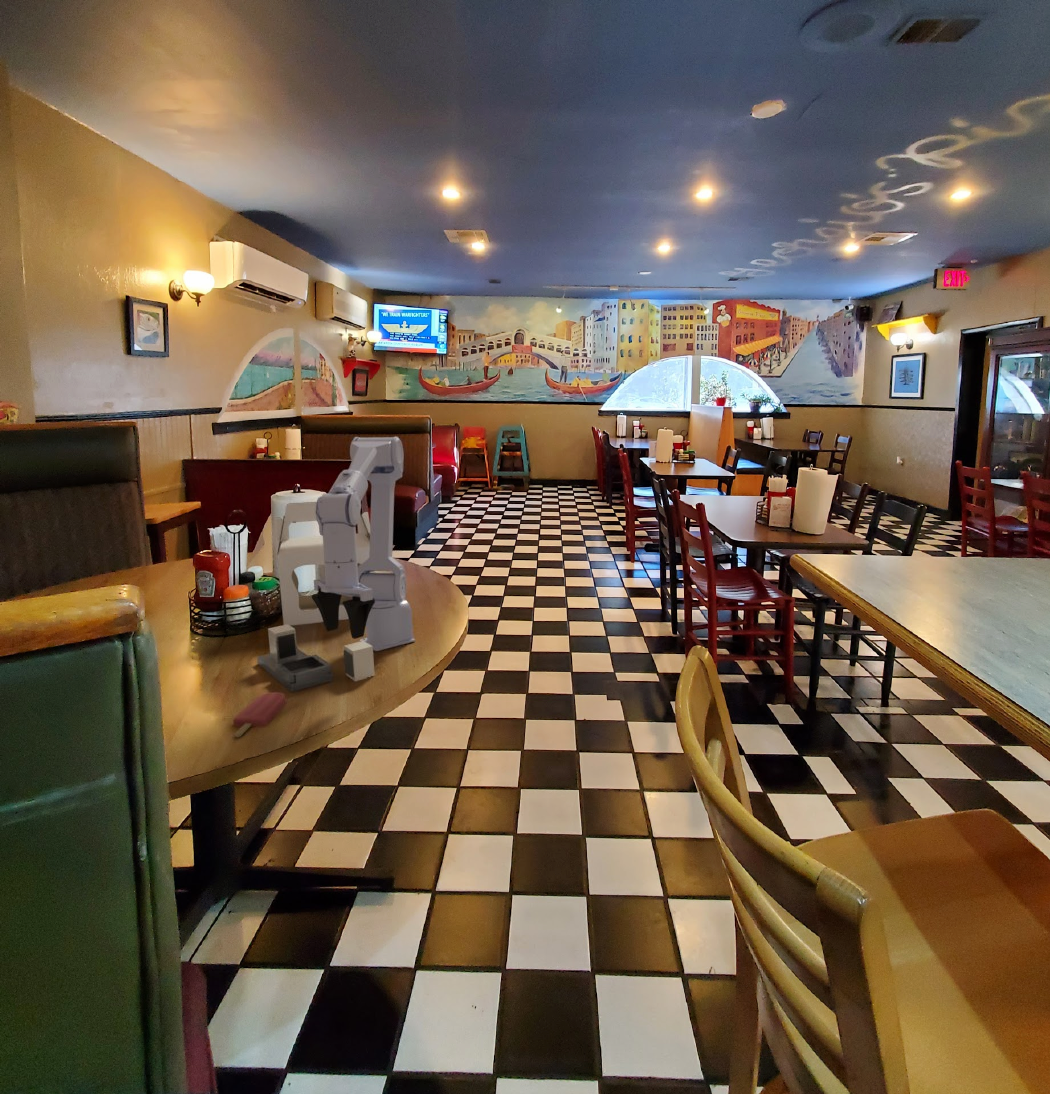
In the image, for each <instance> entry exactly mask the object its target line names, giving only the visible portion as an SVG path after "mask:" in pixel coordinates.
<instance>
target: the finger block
mask: <svg viewBox="0 0 1050 1094" xmlns="http://www.w3.org/2000/svg"><path fill="white" fill-rule="evenodd" d="M374 661H375V660H374V650H373V646H371V645H370V644H368V643H366V642H364V641H360V640H359V641H357V642H353V643H348V644H346V645H343V663H344V673H345V676H347V677H349V678H350V679H351V680H352V681H354V682H359V681H361V680H366V679H368V678H367V677H369V678H372V677H371V676H373V677H375V676H376V675H375V674H376V673H375V663H374Z"/></svg>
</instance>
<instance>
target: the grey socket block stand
mask: <svg viewBox="0 0 1050 1094" xmlns="http://www.w3.org/2000/svg"><path fill="white" fill-rule="evenodd" d="M296 631H297V630H296V628H294V627H293V626H290V625H288V624H287V625H284V624H283V625H279V626H274V627H269V628H267V632H268V633H267V635H268V642H269V643H268V644H269V653H268V654H263V655H259V656H256V657H257V658H256V659H257V665H259V666H260V667H261V668H262V669H263V670H264V671H265V672H267V673H268V674H269V675H271V676H272V678H273V679H275V680H276V681H277V682H279V683H280V685H282V686H283V687H284V688H286V689H287V690H288V691H289V692H290V693H293V692H297V691H300V690H305V689H308V688H311V687H315V686H319V685H323V684H326V683H329V682H333V681H334V674H333V672H332V664H331V663H329V662H328V661H326V660H325V659H324V658H322V657H320V656H319V655H317V654H314V655H313V654H312V655H311V654H310V655H309V654H306V653H305V652H304V651H302V650H300V649H299V648H298V645H297V644H298V643H297V635H296V634H297V633H296Z"/></svg>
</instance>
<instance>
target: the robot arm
mask: <svg viewBox="0 0 1050 1094" xmlns="http://www.w3.org/2000/svg"><path fill="white" fill-rule="evenodd" d="M352 439H353V440H352V441H351V443H350V446H349V455H350V460H351V463H350V465H349V467H348V469H343V470H342V471H341V472H340V473H339V474H338V476H337V478H336V480H335V481H334V482H333V485H332V486H331V488H330V490H329V491H328V493H323V494H321V496H319V497H318V498H317V500H316V501H315V502H316V511H315V515H316V519H317V521H316V522H317V524H318V529H319V530H318V531H319V535H320V536H323V549H324V565H323V566H324V577H323V578H317V579H314V580H313V587H314V588H313V590H314V591H316V593H317V594H316V593H313V594H311V595H312V599H313V601H314V602H315V603H316V605H317V607H318V609H319V611H320V613H321V616H322V619H323V622H322V623H323V624H324V628H325V630H326V631H327V632H332V631H336V630H338V628H339V624H340V623H339V622H340V620H339V605H340V600H341V596H342V595H344V596H349V597H352V600H347V601H343V605H344V607H345V609H346V612H347V615H348V618H349V619H348V621H349V622H348V623H349V630H350V635H351V638H352V639H354V640H356V639H359V638H361V639H359V642H360V641H364V642H366V643H368V644H370V645H371V646H373V651H375V652H379V651H383V650H387V649H391V648H394V647H398V646H403V645H405V644H409V643H413V642H415V640H416V639H415V638H414V632H413V627H414V626H413V612H412V608H411V606H410V603H409V602H408V601H407V600H406V599H405V598H406V594H407V578H406V570H405V567H404V566H403V565H402V564H401V563H400V562H398V560H396V559H395V558H394V557H393V546H394V543H393V541H394V512H395V510H394V508H395V507H394V506H395V487H396V481H398V480H400V479H401V478H403V472H404V456H405V455H404V453H405V452H404V448H403V443H402V440H401V439H400V438H399V437H398V436H393V437H359V436H355V437H354V438H352ZM368 481H369V483H370V484H371V485H370V486H371V488H370V489H371V490H370V491H371V493H370V495H371V496H370V519H369V522H370V533H369V536H370V552H369V558H368V559H367V560H366V561H365V562H363V563H362V564H361V565H360V566H359V567H358V566H357V564H358V563H357V548H356V534H357V530H356V526H357V523H358V522H359V518H360V512H361V511H362V510H361V509H362V501H363V498H364V496H365V494H366V492H367V491H368V488H369V483H368ZM372 571H375V573H370V572H372ZM380 572H381V573H380ZM382 572H383V573H382ZM384 572H385V573H384ZM388 572H392V573H388ZM365 632H366V637H364V635H365ZM363 637H364V638H363Z"/></svg>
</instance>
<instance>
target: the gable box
mask: <svg viewBox="0 0 1050 1094" xmlns="http://www.w3.org/2000/svg"><path fill="white" fill-rule="evenodd" d="M316 502H317V501H308V502H306V501H305V502H304V501H303V502H289V503H288V504H286V506H285V512H284V515H283V517H282V518H281V517H278V516H277V517H275V526H274V527H275V531H274V533H275V541H277V546H276V547H277V548H276V549H277V552H276V556H277V567H278V578H279V588H280V590H279V591H280V600H281V609H282V611H281V612H282V622H283V625H287V624H288V625H290V626H291V627H293V626H300V625H310V624H311V625H312V624H319V623H324V622H323V619H322V616H321V613H320V611H319V609H318V607H317V605H316V603H315V602H314V601H313V599H312V595H313V594H309V595H302V594H300V592H299V584H300V583H299V579H298V576H297V573H296V572H295V570H296V569H297V568H299V567H303V566H311V565H313V566H314V565H315V566H316V565H318V566H324V549H323V536H322V535H320V536H306V537H292V538H291V537H290V531H289V528H290V527H289V526H290V525H291V524H297V523H300V522H301V523H302V522H317V519H316V515H315V511H316ZM356 526H357V533H356V548H357V566H358V567H359V566H360V565H361V564H362V563H363V562H365V561H366V560H367V559H368V558H369V552H370V518H369V512H368V511H363V513H362V512H361V511H360V518H359V522H358V523H357V524H356ZM370 573H376V571H372V572H370ZM315 594H317V592H316V593H315ZM347 600H352V597H349V596H344V595H342V596H341V600H340V605H339V621H345V620H349V618H348V615H347V612H346V609H345V607H344V605H343V601H347Z"/></svg>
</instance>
